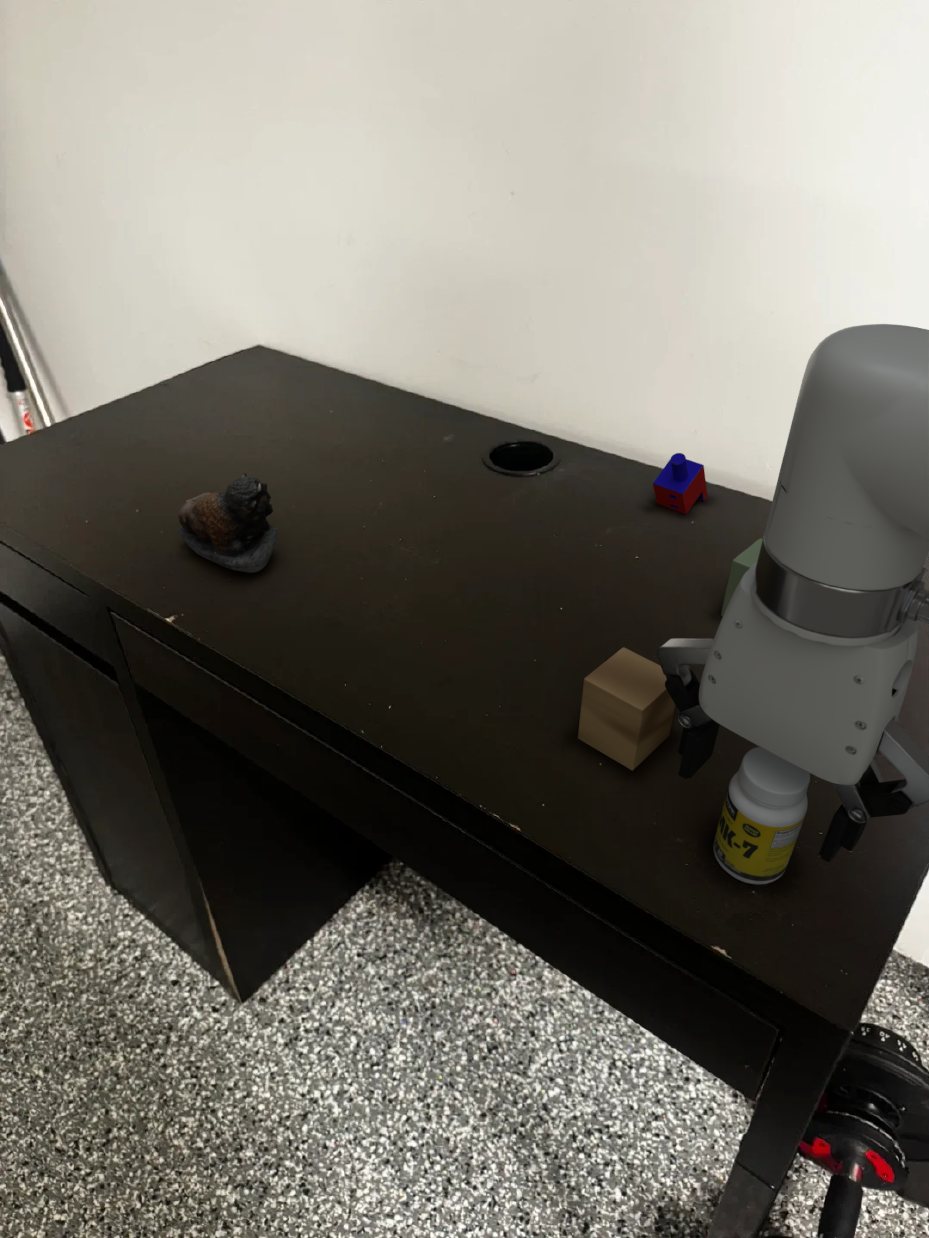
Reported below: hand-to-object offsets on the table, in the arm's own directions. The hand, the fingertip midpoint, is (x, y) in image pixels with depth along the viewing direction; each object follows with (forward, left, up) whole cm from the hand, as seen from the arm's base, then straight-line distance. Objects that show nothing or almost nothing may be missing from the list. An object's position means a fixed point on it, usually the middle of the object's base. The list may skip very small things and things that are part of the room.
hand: (761, 804), depth 56 cm
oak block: (+7, -11, -5) cm, 14 cm away
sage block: (-7, -27, -5) cm, 28 cm away
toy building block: (-3, -47, -5) cm, 47 cm away
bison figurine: (+42, -35, -5) cm, 55 cm away
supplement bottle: (0, 0, -5) cm, 5 cm away
